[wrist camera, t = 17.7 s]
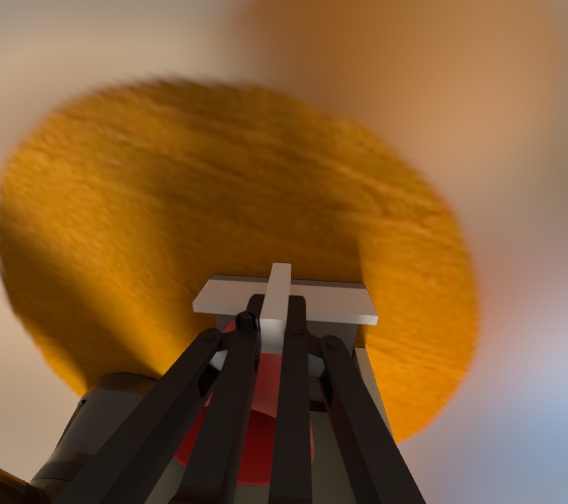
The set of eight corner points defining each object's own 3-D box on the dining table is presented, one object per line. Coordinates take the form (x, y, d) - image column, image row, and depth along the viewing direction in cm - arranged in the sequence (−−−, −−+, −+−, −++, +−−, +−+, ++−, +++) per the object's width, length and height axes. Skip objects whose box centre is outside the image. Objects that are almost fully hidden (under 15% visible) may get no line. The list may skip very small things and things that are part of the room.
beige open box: (220, 407, 31) (99, 789, 13) (207, 335, 25) (-62, 867, 7) (347, 419, 30) (418, 857, 12) (365, 348, 24) (576, 1028, 6)
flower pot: (327, 318, 22) (344, 435, 13) (290, 383, 26) (284, 500, 18) (223, 285, 21) (166, 385, 12) (205, 357, 26) (154, 467, 17)
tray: (226, 372, 28) (213, 409, 24) (212, 274, 21) (192, 303, 17) (342, 382, 27) (349, 422, 23) (363, 283, 21) (378, 316, 17)
